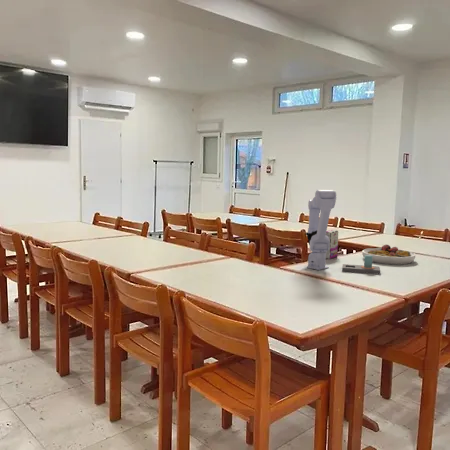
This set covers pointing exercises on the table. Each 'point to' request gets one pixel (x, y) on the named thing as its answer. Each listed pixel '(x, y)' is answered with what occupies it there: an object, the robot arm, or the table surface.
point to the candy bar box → (332, 244)
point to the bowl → (389, 255)
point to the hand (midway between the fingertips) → (313, 244)
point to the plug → (368, 261)
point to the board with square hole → (360, 269)
